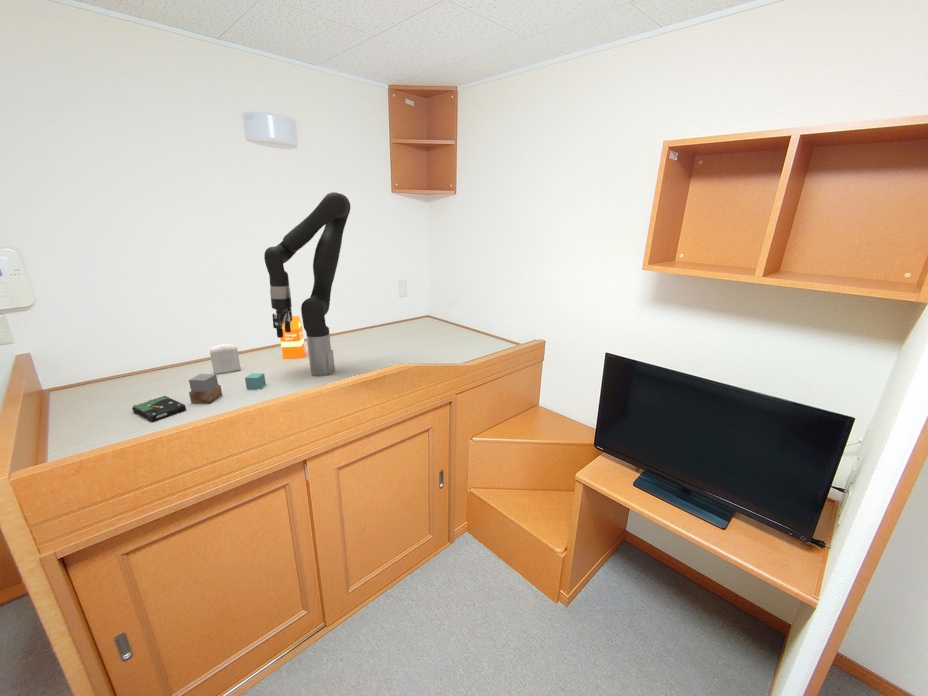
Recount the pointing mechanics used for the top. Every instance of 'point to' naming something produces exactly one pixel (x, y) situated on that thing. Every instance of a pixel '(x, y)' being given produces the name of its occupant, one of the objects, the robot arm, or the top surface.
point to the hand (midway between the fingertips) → (284, 334)
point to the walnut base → (206, 396)
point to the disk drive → (159, 408)
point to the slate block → (203, 382)
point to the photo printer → (225, 358)
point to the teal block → (255, 381)
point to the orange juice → (293, 340)
